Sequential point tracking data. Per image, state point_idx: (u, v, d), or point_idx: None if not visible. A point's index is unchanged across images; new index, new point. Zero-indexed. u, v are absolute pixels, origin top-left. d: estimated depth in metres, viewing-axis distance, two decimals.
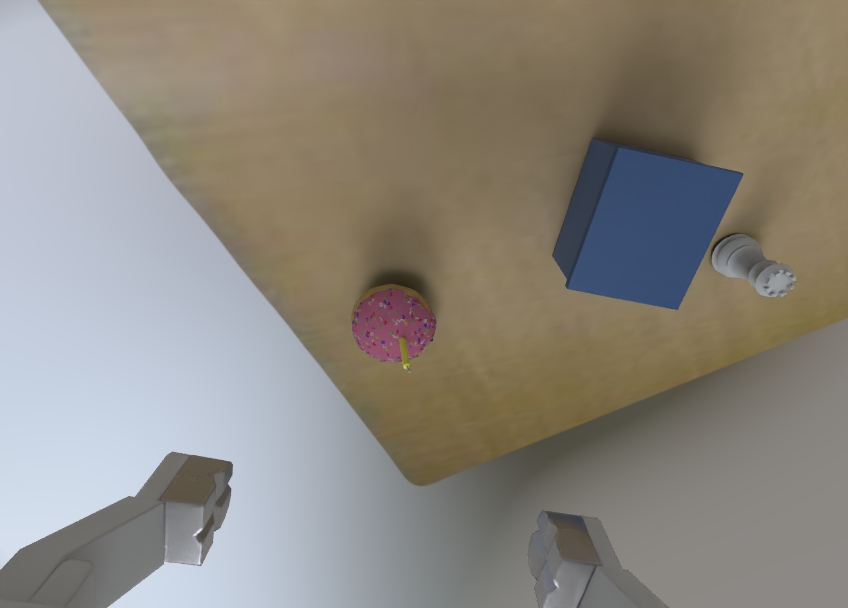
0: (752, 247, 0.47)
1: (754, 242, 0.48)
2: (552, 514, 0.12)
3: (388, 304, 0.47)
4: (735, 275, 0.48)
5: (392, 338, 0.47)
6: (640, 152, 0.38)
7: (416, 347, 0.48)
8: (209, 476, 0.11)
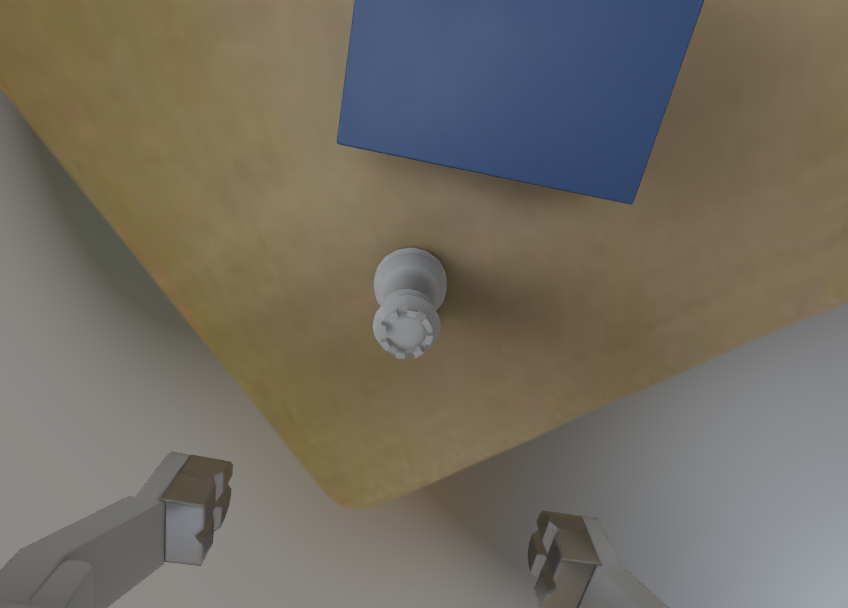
0: (437, 298, 0.28)
1: (441, 302, 0.28)
2: (552, 514, 0.12)
3: None
4: (384, 284, 0.27)
5: None
6: None
7: None
8: (209, 476, 0.11)
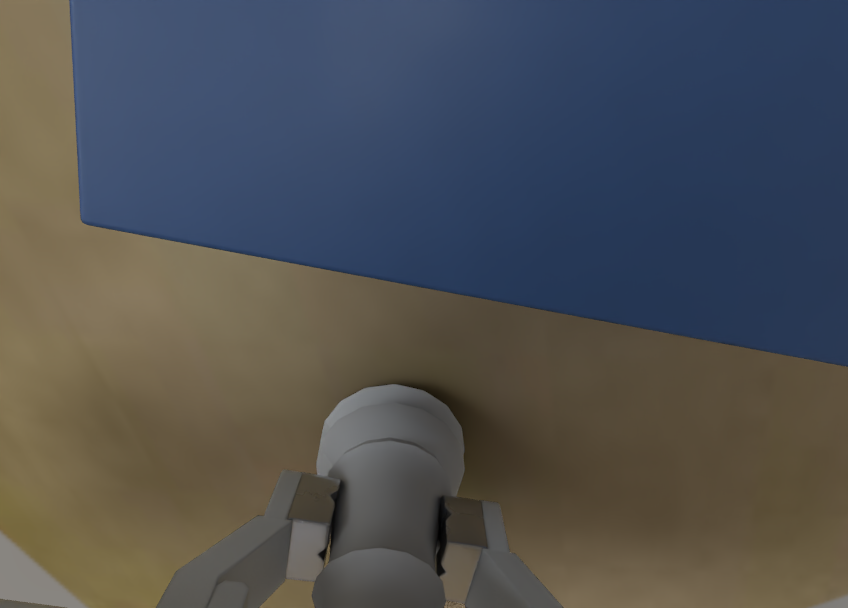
0: None
1: None
2: (449, 498, 0.12)
3: None
4: None
5: None
6: None
7: None
8: (326, 494, 0.11)
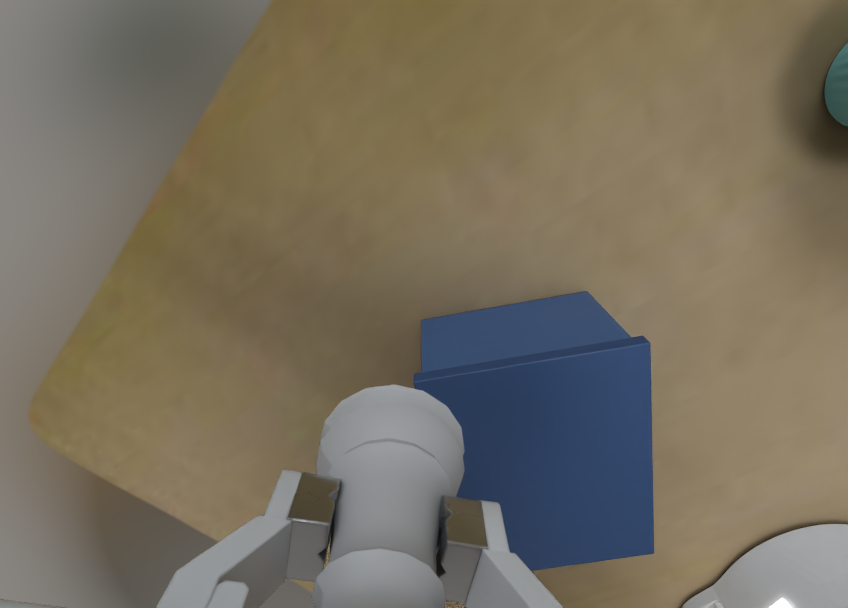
0: None
1: None
2: (450, 498, 0.12)
3: None
4: None
5: None
6: (619, 557, 0.26)
7: None
8: (326, 494, 0.11)
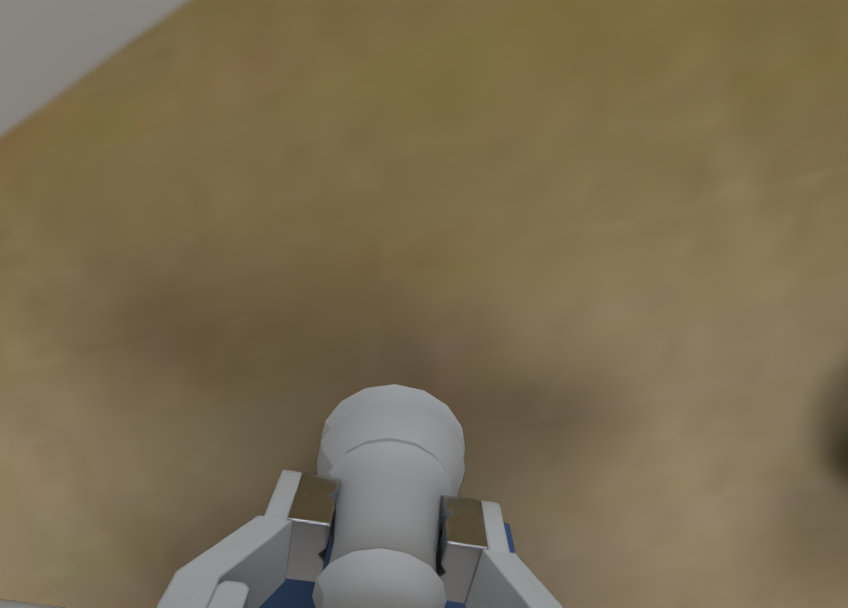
0: None
1: None
2: (449, 498, 0.12)
3: None
4: None
5: None
6: None
7: None
8: (326, 494, 0.11)
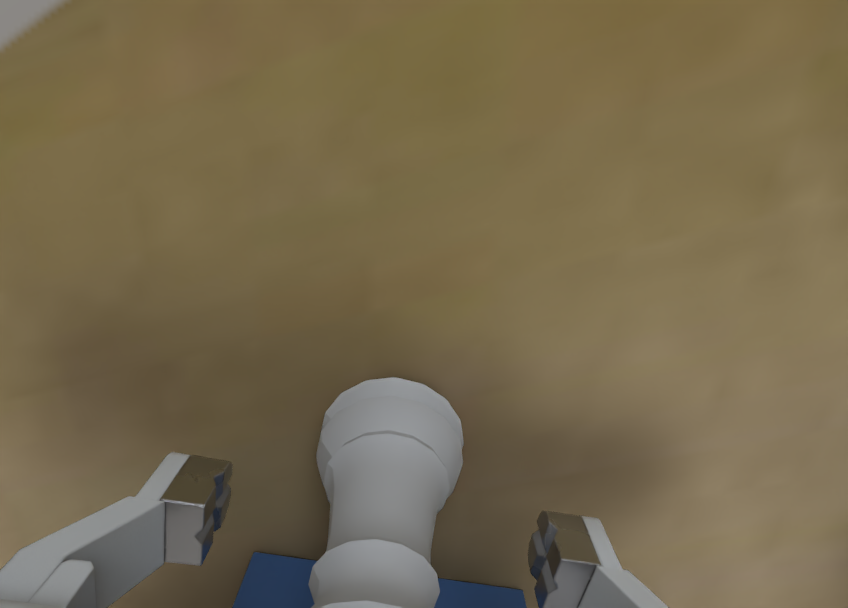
0: (443, 495, 0.13)
1: (451, 491, 0.14)
2: (552, 514, 0.12)
3: None
4: (333, 470, 0.13)
5: None
6: None
7: None
8: (209, 476, 0.11)
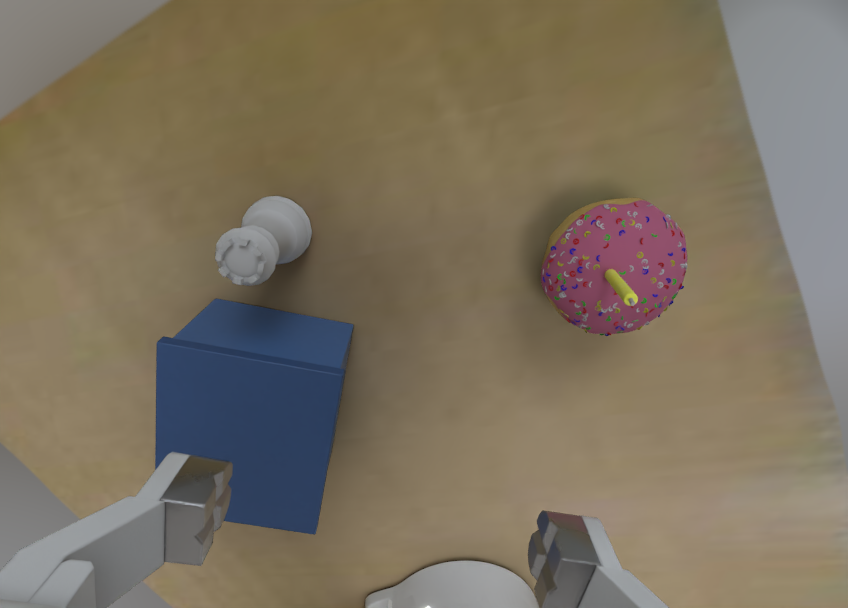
0: (294, 240, 0.30)
1: (301, 246, 0.31)
2: (552, 514, 0.12)
3: (617, 326, 0.29)
4: (245, 226, 0.30)
5: (627, 279, 0.27)
6: (288, 529, 0.33)
7: (586, 251, 0.27)
8: (209, 476, 0.11)
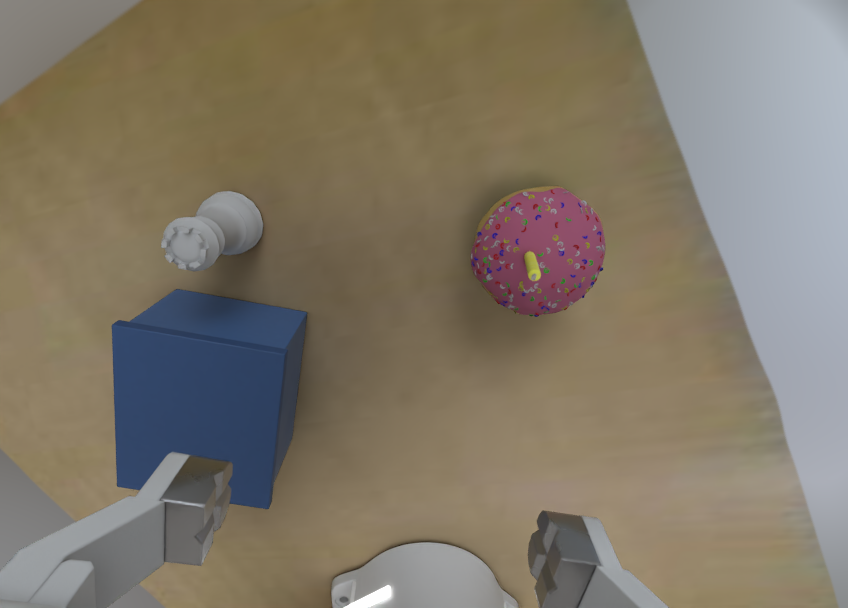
0: (243, 231, 0.33)
1: (252, 237, 0.34)
2: (552, 514, 0.12)
3: (542, 306, 0.31)
4: None
5: (545, 261, 0.29)
6: (242, 504, 0.35)
7: (507, 236, 0.29)
8: (209, 476, 0.11)
